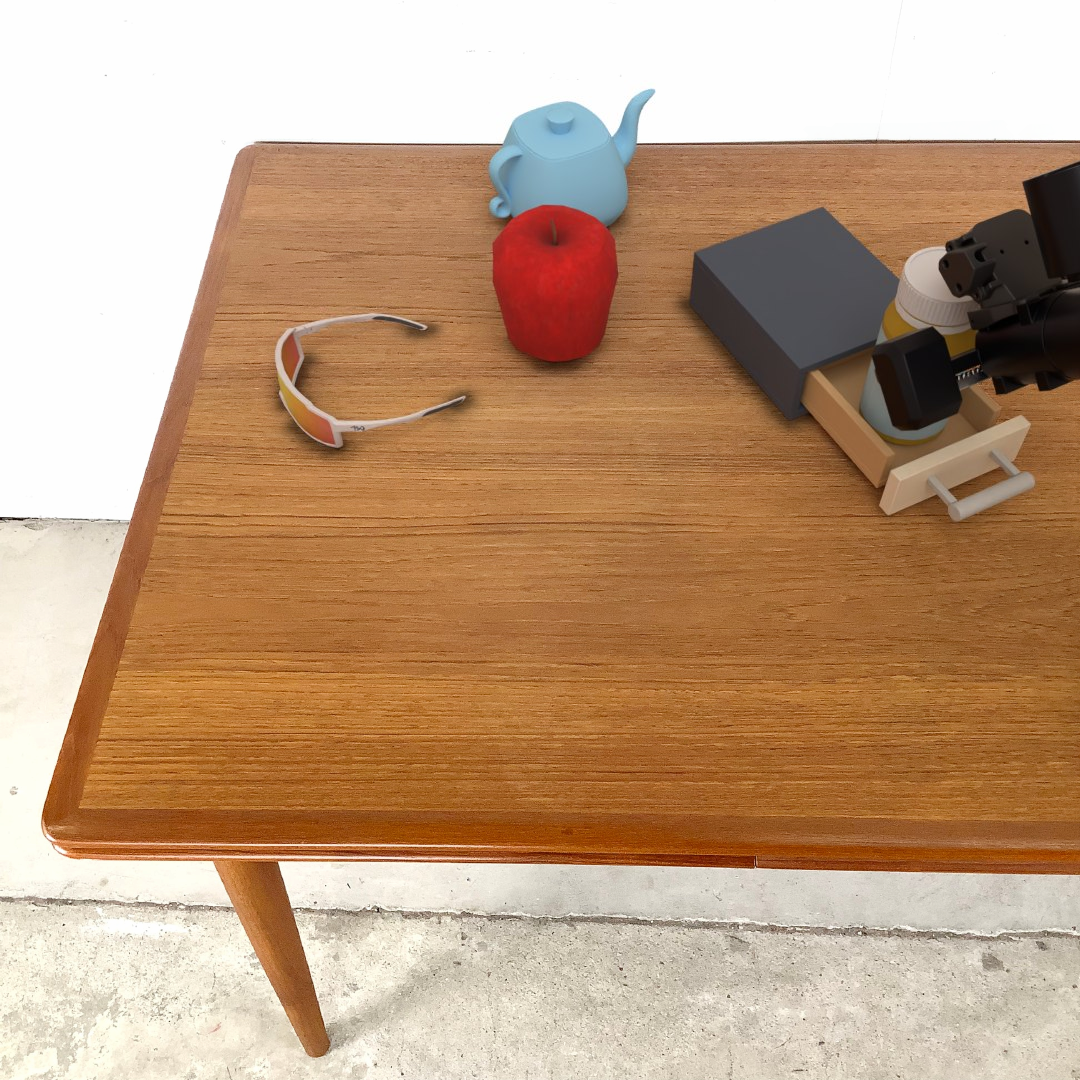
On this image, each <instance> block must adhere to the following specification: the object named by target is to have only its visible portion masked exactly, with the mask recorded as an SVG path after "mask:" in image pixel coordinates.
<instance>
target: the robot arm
mask: <svg viewBox="0 0 1080 1080" xmlns="http://www.w3.org/2000/svg"><path fill="white" fill-rule="evenodd" d="M1021 184H1022V188H1023V191H1024V195H1025V199H1026V202H1027V206H1028V209H1029V212H1028V211H1026V210H1025V209H1022V208H1015V209H1011V210H1009V211H1006V212H1003V213H1001V214H998V215H995V216H993V217H990V218H987V219H985V220H984V219H983V220H982V221H979V222H977V223H976V224H974V226H973V227H972V228H970V229H969V230H968V231H967V233H964V234H962V235H960V236H958V237H956V238H953V239H951V240H948V241H946V242H945V245H944V247H945V249H946V252H947V253H946V254H945V255H944V256H943V257H942V258H941V259H940V260H939V264H938V269H939V272H940V274H941V275H942V277H943V279H944V281H945V283H946V285H947V286H948V288H949V290H950V292H951V294H952V295H953V296H955V297H957V298H961V297H964V296H970V297H972V299H973V300H974V301H975V302H976V303H978V304H980V308H976V309H974V310H971V311H969V312H967V315H968V318H969V322H970V326H971V329H972V330H978V332H977V333H976V336H975V348H972V349H970V350H968V351H965V352H963V353H960V354H958V355H955V356H953V357H950V354H949V350H948V347H947V343H946V340H945V337H944V336H943V335H941V334H940V333H939V332H938V331H937V330H936V329H935V328H934V327H933V326H931V327H925V328H921V329H918V330H914V331H911V332H908V333H905V334H902V335H900V336H897V337H895V338H892V339H890V340H887V341H885V342H882V343H880V344H877V345H876V346H875V348H874V350H873V353H872V355H871V356H872V360H873V363H874V366H875V370H874V372H875V375H876V379H877V382H878V383H879V384H880V386H881V390H882V393H883V396H884V400H885V403H886V407H887V410H888V413H889V417H890V420H891V423H892V426H893V427H895V428H897V429H898V430H900V431H918V430H920V429H922V428H925V427H927V426H929V425H932V424H934V423H937V422H939V421H941V420H944V419H946V418H948V417H951V416H953V415H956V414H958V412H959V409H960V406H961V404H962V401H963V399H962V396H961V392H960V390H963V389H965V388H967V387H970V386H972V385H975V384H977V385H978V384H979V383H981V382H984V381H987V380H989V379H991V382H992V385H993V388H994V389H993V390H994V393H995V395H996V396H999V395H1000V396H1002V395H1008V394H1011V393H1013V392H1015V391H1017V390H1019V389H1022V388H1024V387H1027V386H1029V385H1037V389H1038V392H1051V391H1053V390H1055V389H1059V388H1060V387H1062V386H1065V385H1067V384H1069V383H1072V382H1074V381H1080V159H1079V160H1077V161H1074V162H1070V163H1068V164H1065V165H1063V166H1060V167H1057V168H1054V169H1051V170H1048V171H1045V172H1043V173H1041V174H1037V175H1034V176H1033V177H1029V178H1027V179H1024V180H1022V181H1021ZM966 370H967V371H966ZM964 371H966V372H965V373H961V372H964ZM959 373H961V376H960V375H957V376H956V374H959Z"/></svg>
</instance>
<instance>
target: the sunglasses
mask: <svg viewBox="0 0 1080 1080" xmlns="http://www.w3.org/2000/svg"><path fill="white" fill-rule="evenodd" d="M369 321H370V322H371V321H380V322H388V323H394V324H399V325H403V326H406V327H410V328H412V329H416V330H419V331H425V330H427V329H428V326H427V325H425V324H423V323H420V322H417V321H414V320H411V319H407V318H404V317H401V316H397V315H391V314H386V313H376V312H372V313H363V314H353V315H344V316H337V317H331V318H324V319H319V320H316V321H315V320H314V321H312V322H308V323H305V324H302V325H301V324H300V325H298V326H294V327H289V328H287V329H286V331H284V333H283V334H282V335H281V336H280V337H279V339H278V340H277V343H276V346H275V351H274V362H275V367H276V374H277V375H276V376H277V381H278V385H279V391H278V393H279V397H280V400H281V401H282V403H283V406H284V407H285V409H286V410H287V412H288V414H289V415H290V417H291V418H292V419H293V421H294V422H295V424H296V425H297V426H298V427H299V428H300V429H301V430H302V431H303V432H304V433H305V434H306V435H307V436H308V437H310V438H311V439H313V440H315V441H316V442H318V443H321V444H323V445H325V446H327V447H331V448H336V449H339V448H341V447H342V446H344V441H343V436H342V433H344V432H357V433H363V432H365V431H369V430H372V429H377V428H382V427H387V426H393V425H399V424H400V425H401V424H408V423H412V422H414V421H417V420H419V419H422V418H425V417H428V416H430V415H435V414H436V413H440V412H442V411H444V410H445V411H446V410H448V409H450V408H453V407H456V406H457V405H460V404H462V403H463V402H464V401H465V399H466V398H467V396H466V395H463V396H459V397H456V398H454V399H452V400H450V401H447V402H444V403H441V404H438V405H435V406H431V407H429V408H425V409H422V410H419V411H416V412H413V413H411V414H408V415H403V416H399V417H393V418H388V419H377V420H343V419H337V418H336V417H335V416H332V415H330V413H329V414H328V413H326V412H325V411H323V410H321V409H319V408H318V407H317V406H314V404H313V403H312V401H310V399H308V398H307V397H306V396H304V395H303V394H302V393H301V392H300V391H299V390H298V388H297V387H295V385H296V384H295V383H296V380H297V377H298V374H299V371H300V369H301V367H302V364H303V362H304V360H305V354H304V350H303V347H302V345H301V340H300V338H301V337H304V336H306V335H310V334H314V333H317V332H319V331H320V330H322V329H325V328H327V327H330V326H333V325H336V324H342V323H363V322H369Z"/></svg>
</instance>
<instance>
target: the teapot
mask: <svg viewBox="0 0 1080 1080" xmlns="http://www.w3.org/2000/svg"><path fill="white" fill-rule="evenodd" d="M655 93H656V89H655V88H647V89H645V90H643V91H640V92H639V93H637V94H636V95H634V96H633V97H632V98H631V99H630V101H628V104H627V105H626V107H625V109H624V112H623V115H622V118H621V121H620V124H619V126H618V128H617V130H616V132H615V133H614V134H613V135H611V133H610V131H609V129H608V128H607V125H606V124H605V123H604V122H603V120H602V119H601V118H600V117H599V116H598V115H597V114H596V113H594V112H593V111H592V110H590V109H589V108H588V107H586V106H584V105H582V104H580V103H577V102H574V101H569V100H568V101H567V100H565V101H559V102H554V103H551V104H550V103H549V104H546V105H543V106H540V107H537V108H533V109H531V110H527V111H526V112H523V113H522V114H519V115H518V116H517V117H515V118H514V119H513V121H512V123H511V125H510V126H509V129H508V130H507V133H506V135H505V138H504V140H503V142H502V145H501V148H499V150H497V152H495V153H494V154H493V156H492V157H491V159H490V160H489V165H488V176H489V179H490V181H491V183H492V186H493V187H494V189H495V191H496V192H497V194H498V195H497V196H493V198H491V199H490V202H489V204H488V205H489V206H488V208H489V212H490V214H491V215H492V216H493V217H494V218H496V219H506V218H508V217H510V216H511V218H512V219H513V218H515V217H516V216H518V215H520V214H521V213H523V212H525V211H527V210H529V209H532V208H535V207H538V206H541V205H563V206H567V207H570V208H574V209H577V210H581V211H583V212H585V213H587V214H589V215H591V216H594V217H596V218H597V219H598V220H599V221H601V222H602V223H603V224H604V225H605V226H606V227H607V228H608V227H609V226H612V224H614V223H615V222H616V221H617V220H618V219H619V218H620V216H621V215H622V214H623V213H624V211H625V209H626V208H627V205H628V200H629V188H628V187H629V186H628V180H627V175H626V168H627V167H628V166H629V164H630V163H631V161H632V160H633V158H634V155H635V153H636V149H637V145H638V133H639V131H638V130H639V121H640V118H641V117H640V116H641V113H642V111H643V109H644V107H645V105H646V104H647V103H648V102H649V101H650V100H651V98H652V97H653V96H654V95H655Z"/></svg>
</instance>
